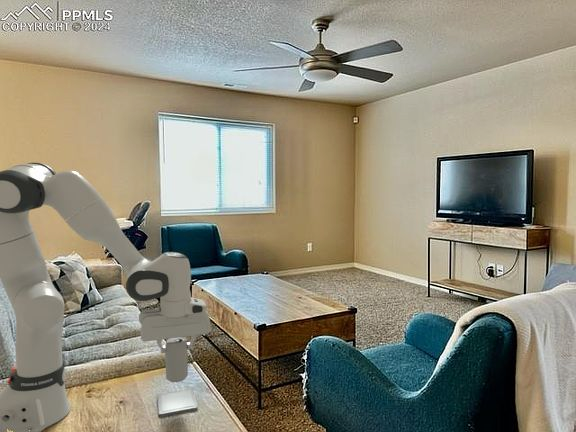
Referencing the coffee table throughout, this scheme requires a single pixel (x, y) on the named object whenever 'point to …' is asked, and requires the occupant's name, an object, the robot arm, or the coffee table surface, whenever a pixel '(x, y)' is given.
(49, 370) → the robot arm
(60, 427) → the coffee table surface
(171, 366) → the beverage can
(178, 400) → the coaster
